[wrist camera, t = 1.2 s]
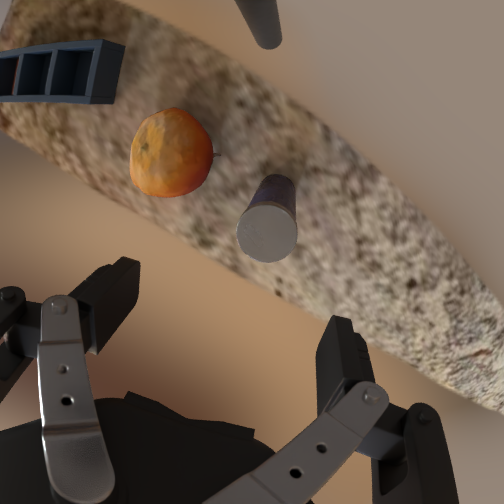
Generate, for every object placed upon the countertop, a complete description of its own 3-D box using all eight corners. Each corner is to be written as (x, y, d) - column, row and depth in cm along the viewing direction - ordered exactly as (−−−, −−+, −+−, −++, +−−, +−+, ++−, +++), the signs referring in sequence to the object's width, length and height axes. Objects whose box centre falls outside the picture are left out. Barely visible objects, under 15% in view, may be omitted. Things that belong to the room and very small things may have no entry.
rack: (18, 54, 27) (-5, 52, 22) (125, 46, 26) (103, 39, 22) (10, 100, 29) (-14, 102, 25) (113, 104, 29) (89, 104, 25)
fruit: (204, 219, 31) (141, 215, 24) (165, 173, 34) (106, 162, 27) (252, 152, 28) (193, 128, 21) (204, 112, 31) (147, 88, 24)
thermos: (262, 168, 30) (243, 198, 19) (300, 178, 30) (304, 214, 19) (253, 205, 32) (230, 254, 21) (290, 215, 31) (288, 269, 20)
